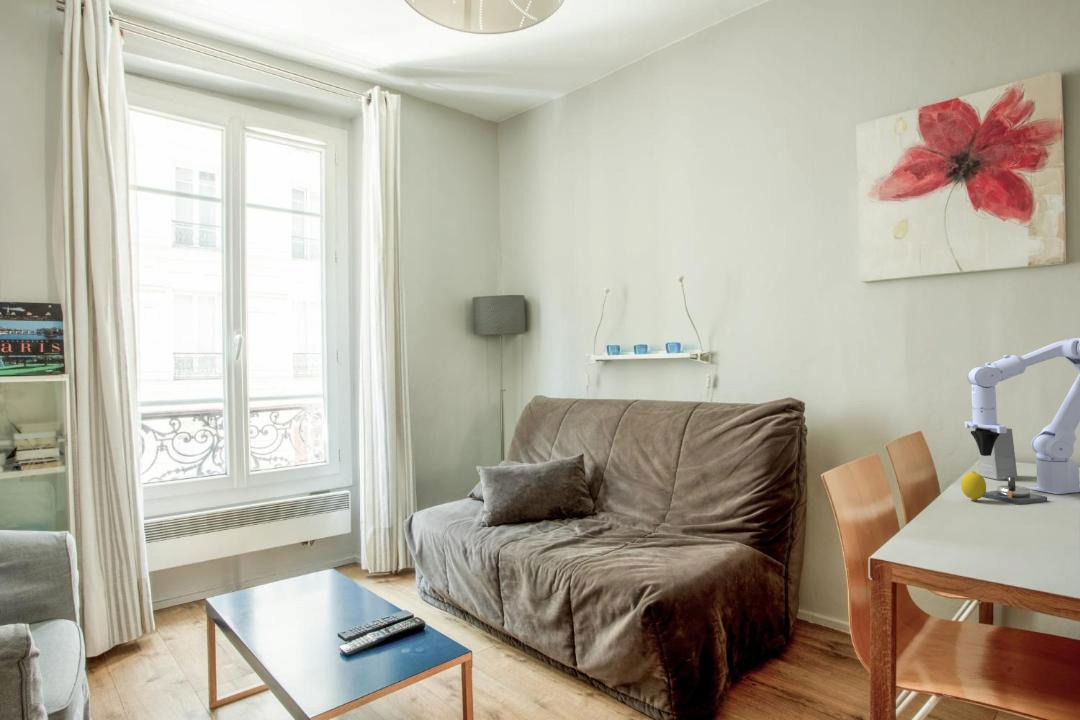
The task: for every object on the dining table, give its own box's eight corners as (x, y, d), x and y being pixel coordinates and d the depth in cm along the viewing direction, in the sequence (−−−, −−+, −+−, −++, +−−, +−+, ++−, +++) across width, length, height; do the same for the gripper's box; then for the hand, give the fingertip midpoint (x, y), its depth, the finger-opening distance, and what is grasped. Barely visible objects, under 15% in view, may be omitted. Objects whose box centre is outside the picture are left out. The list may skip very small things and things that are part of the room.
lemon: (978, 498, 167) (977, 469, 167) (991, 503, 162) (990, 473, 162) (957, 498, 168) (956, 469, 168) (969, 503, 162) (968, 473, 162)
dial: (991, 492, 168) (990, 474, 168) (1010, 489, 170) (1009, 471, 170) (1017, 497, 161) (1016, 478, 161) (1036, 495, 163) (1036, 476, 163)
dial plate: (1010, 493, 172) (1009, 482, 172) (1047, 501, 162) (1046, 489, 162) (981, 496, 169) (981, 485, 169) (1017, 504, 159) (1017, 493, 160)
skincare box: (1018, 480, 188) (1016, 428, 188) (994, 480, 189) (992, 429, 189) (998, 474, 197) (996, 425, 197) (975, 475, 197) (974, 426, 197)
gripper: (953, 406, 185) (955, 452, 185) (987, 410, 170) (989, 459, 170) (977, 406, 184) (979, 451, 184) (1013, 410, 170) (1015, 459, 170)
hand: (985, 455), depth 177 cm, fingers closed
